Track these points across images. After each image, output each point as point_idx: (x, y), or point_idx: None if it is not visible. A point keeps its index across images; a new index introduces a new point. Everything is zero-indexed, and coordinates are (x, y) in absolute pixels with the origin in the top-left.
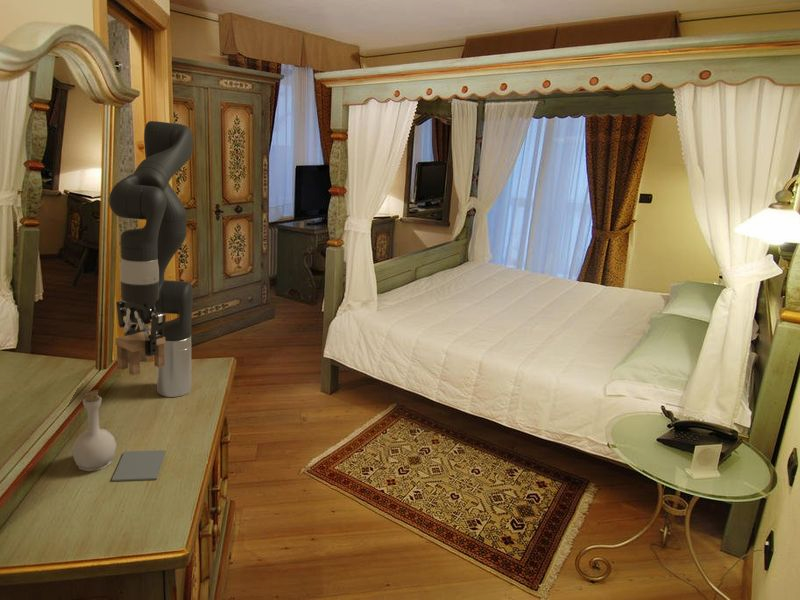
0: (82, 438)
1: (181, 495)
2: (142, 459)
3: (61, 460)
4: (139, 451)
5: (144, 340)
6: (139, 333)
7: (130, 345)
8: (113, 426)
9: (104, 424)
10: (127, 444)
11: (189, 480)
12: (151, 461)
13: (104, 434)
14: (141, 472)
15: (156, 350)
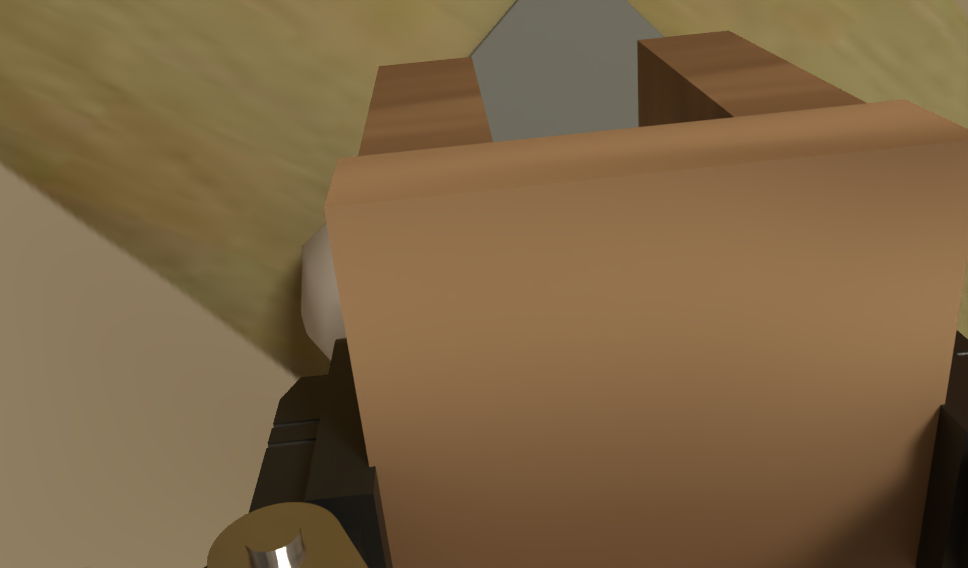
0: None
1: (939, 104)
2: (556, 89)
3: (286, 348)
4: (473, 60)
5: (830, 536)
6: (417, 443)
7: None
8: (85, 18)
9: (29, 47)
10: (344, 61)
11: (884, 6)
12: (609, 65)
13: None
14: None
15: (962, 336)
